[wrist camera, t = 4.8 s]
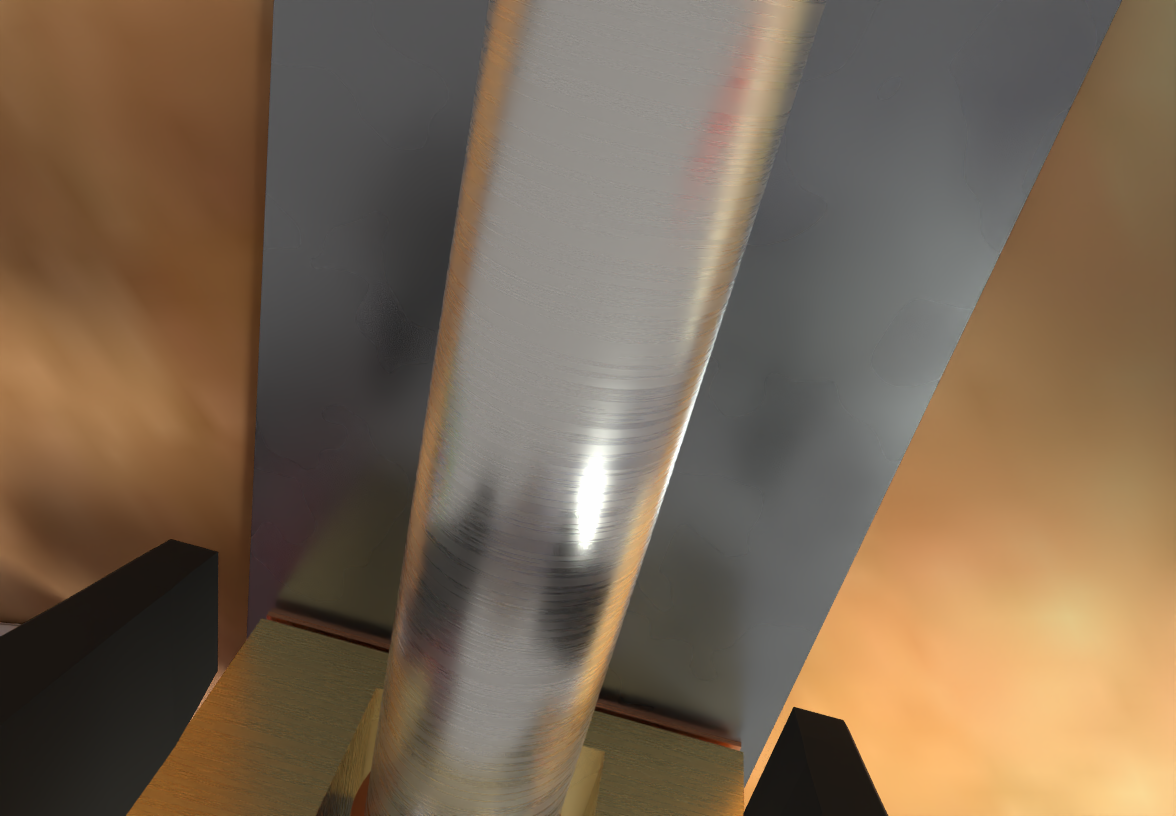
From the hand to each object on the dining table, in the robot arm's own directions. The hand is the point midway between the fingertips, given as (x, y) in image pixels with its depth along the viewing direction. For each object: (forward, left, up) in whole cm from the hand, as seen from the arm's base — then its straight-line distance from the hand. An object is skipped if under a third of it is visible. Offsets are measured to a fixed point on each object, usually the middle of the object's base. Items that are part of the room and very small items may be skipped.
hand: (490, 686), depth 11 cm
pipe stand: (0, 0, -4) cm, 4 cm away
